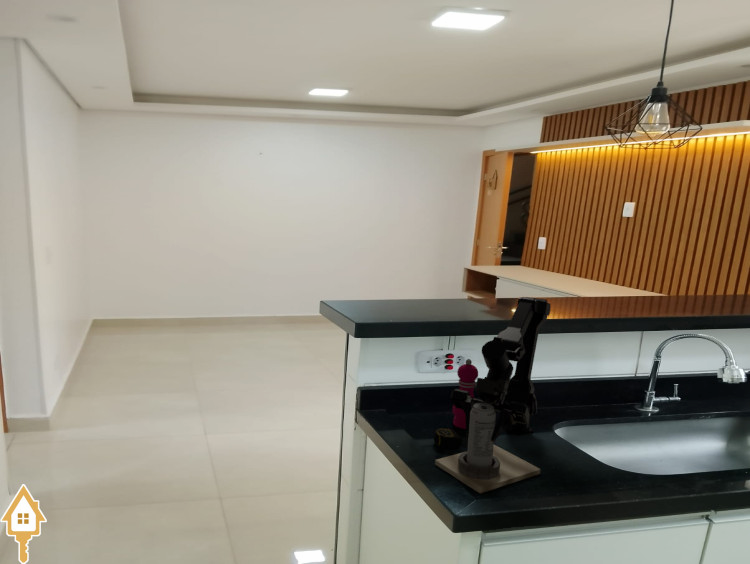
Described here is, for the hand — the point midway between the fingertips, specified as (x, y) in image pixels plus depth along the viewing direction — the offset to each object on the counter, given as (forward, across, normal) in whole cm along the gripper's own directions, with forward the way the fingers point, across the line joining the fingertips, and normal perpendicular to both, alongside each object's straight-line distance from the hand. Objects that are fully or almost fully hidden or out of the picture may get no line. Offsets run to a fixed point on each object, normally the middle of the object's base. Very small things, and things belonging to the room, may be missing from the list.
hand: (479, 437), depth 134 cm
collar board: (+3, +1, +10) cm, 11 cm away
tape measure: (-2, -13, +16) cm, 21 cm away
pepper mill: (-13, -14, +27) cm, 33 cm away
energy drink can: (+5, 0, +6) cm, 8 cm away
